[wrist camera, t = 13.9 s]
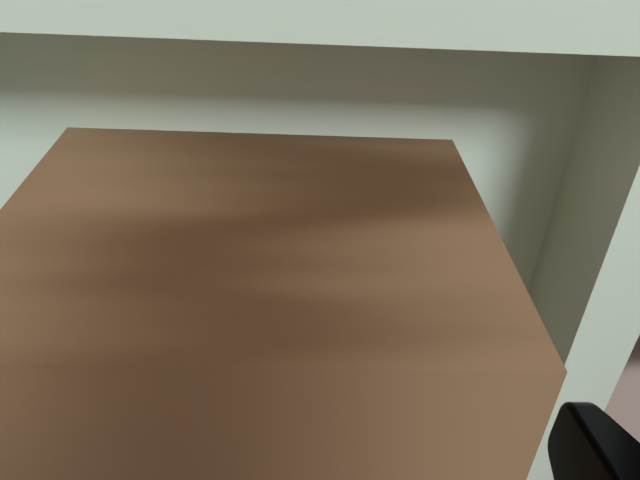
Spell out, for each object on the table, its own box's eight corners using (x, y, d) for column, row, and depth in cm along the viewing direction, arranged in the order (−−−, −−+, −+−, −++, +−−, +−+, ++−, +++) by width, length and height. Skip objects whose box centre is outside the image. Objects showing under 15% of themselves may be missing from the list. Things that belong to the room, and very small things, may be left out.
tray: (683, -63, 9) (805, -32, 6) (503, 465, 15) (534, 565, 13) (-194, -105, 8) (-367, -86, 6) (17, 462, 15) (-31, 564, 13)
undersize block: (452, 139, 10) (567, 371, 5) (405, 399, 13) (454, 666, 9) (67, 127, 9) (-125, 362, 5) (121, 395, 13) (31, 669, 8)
